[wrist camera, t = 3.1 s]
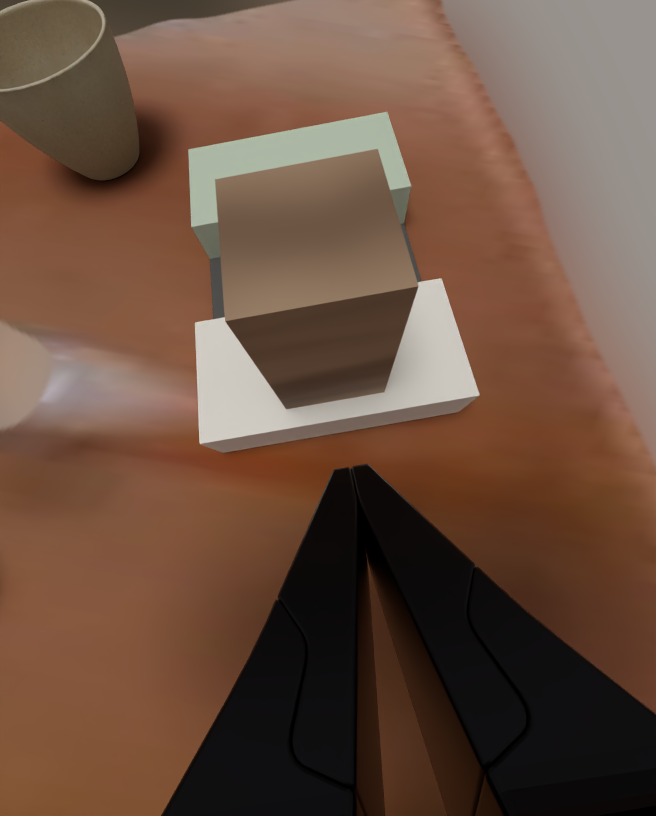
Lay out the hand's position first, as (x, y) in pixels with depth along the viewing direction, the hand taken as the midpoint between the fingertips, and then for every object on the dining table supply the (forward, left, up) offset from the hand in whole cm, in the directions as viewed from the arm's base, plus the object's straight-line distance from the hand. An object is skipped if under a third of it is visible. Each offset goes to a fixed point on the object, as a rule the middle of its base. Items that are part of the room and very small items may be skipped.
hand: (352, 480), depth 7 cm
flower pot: (+33, +7, -10) cm, 35 cm away
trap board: (+13, -3, -10) cm, 17 cm away
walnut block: (+7, -2, -7) cm, 10 cm away
